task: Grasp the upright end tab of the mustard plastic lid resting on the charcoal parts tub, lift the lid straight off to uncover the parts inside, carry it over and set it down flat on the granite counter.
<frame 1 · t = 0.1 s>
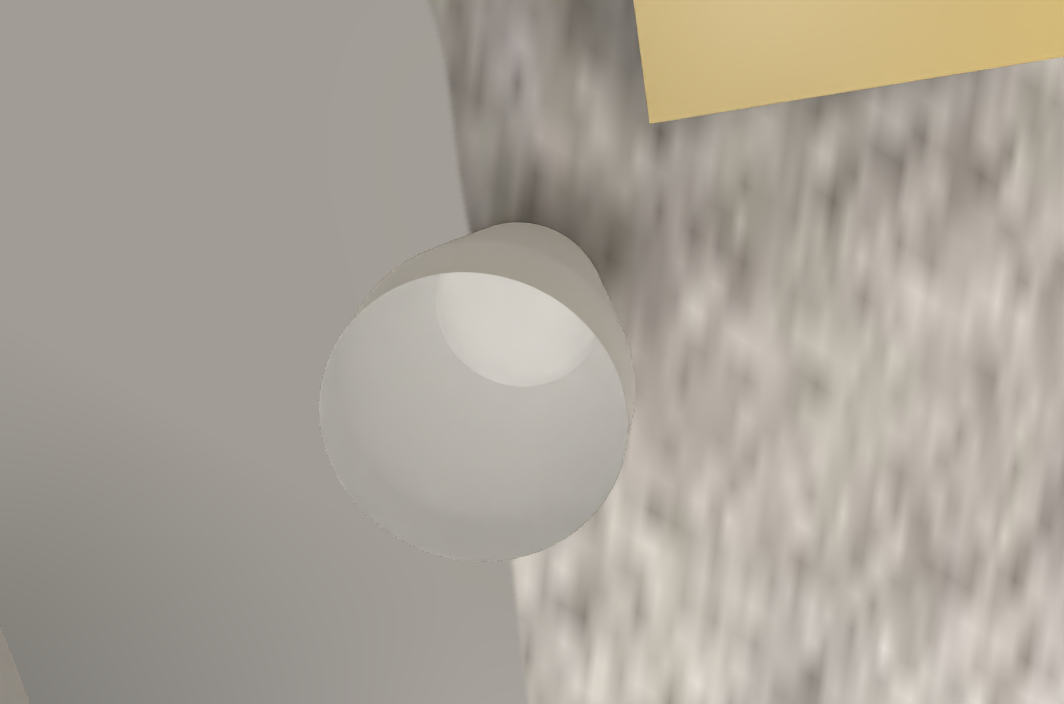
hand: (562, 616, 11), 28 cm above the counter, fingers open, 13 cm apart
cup: (520, 303, 39), on the counter
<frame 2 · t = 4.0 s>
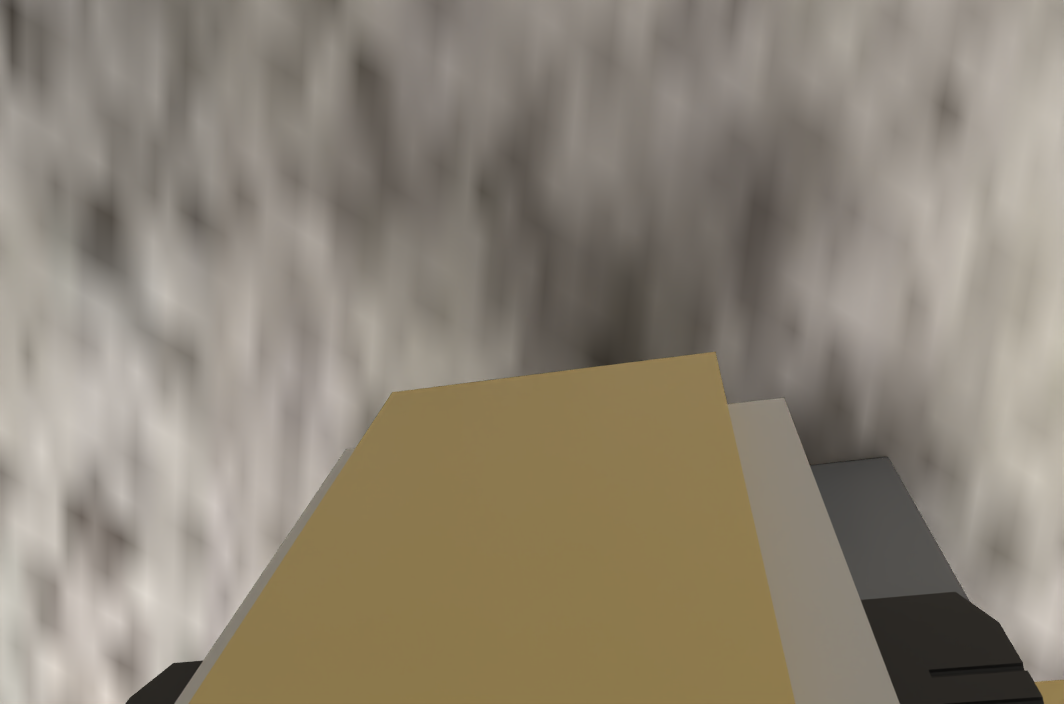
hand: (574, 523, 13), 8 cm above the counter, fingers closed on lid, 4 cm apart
lid: (575, 518, 13), point 8 cm above the counter, touching gripper, tub
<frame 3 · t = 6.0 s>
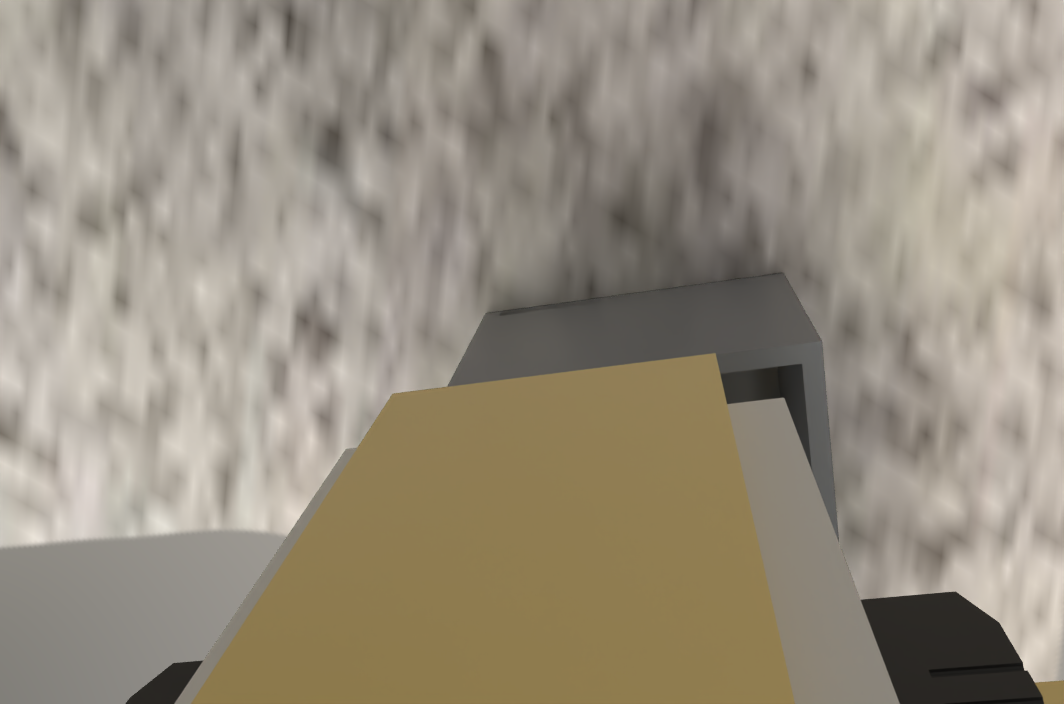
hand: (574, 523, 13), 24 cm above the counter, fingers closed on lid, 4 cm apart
lid: (575, 519, 13), point 24 cm above the counter, touching gripper
tub: (657, 477, 39), on the counter
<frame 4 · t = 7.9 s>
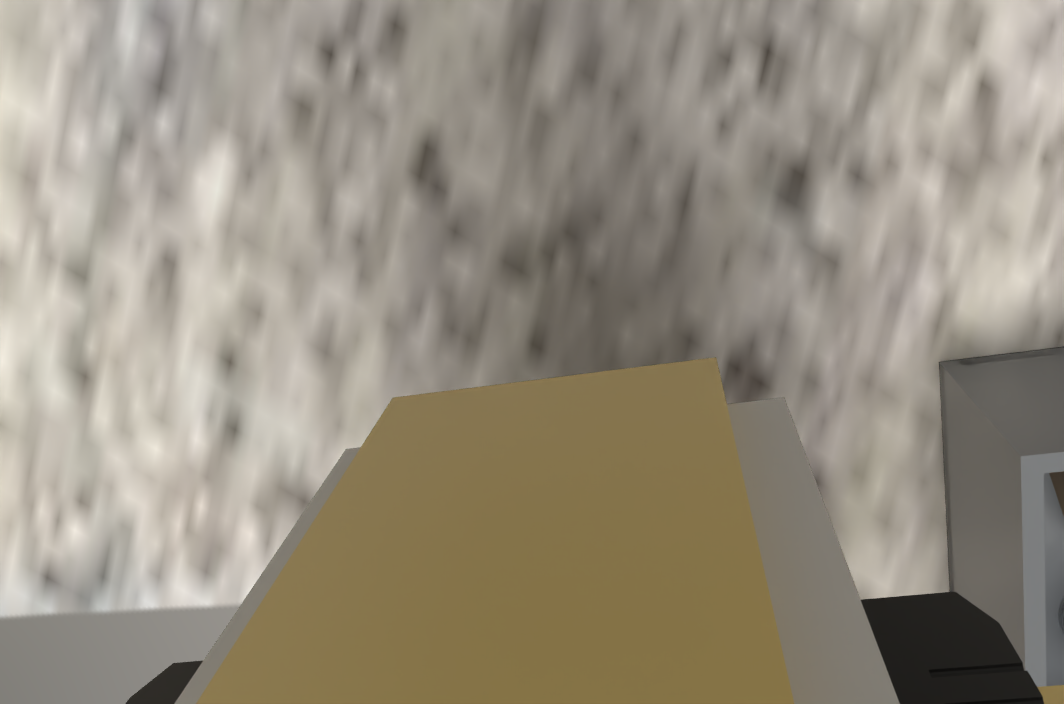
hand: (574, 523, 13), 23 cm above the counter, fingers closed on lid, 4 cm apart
lid: (575, 523, 13), point 23 cm above the counter, touching gripper
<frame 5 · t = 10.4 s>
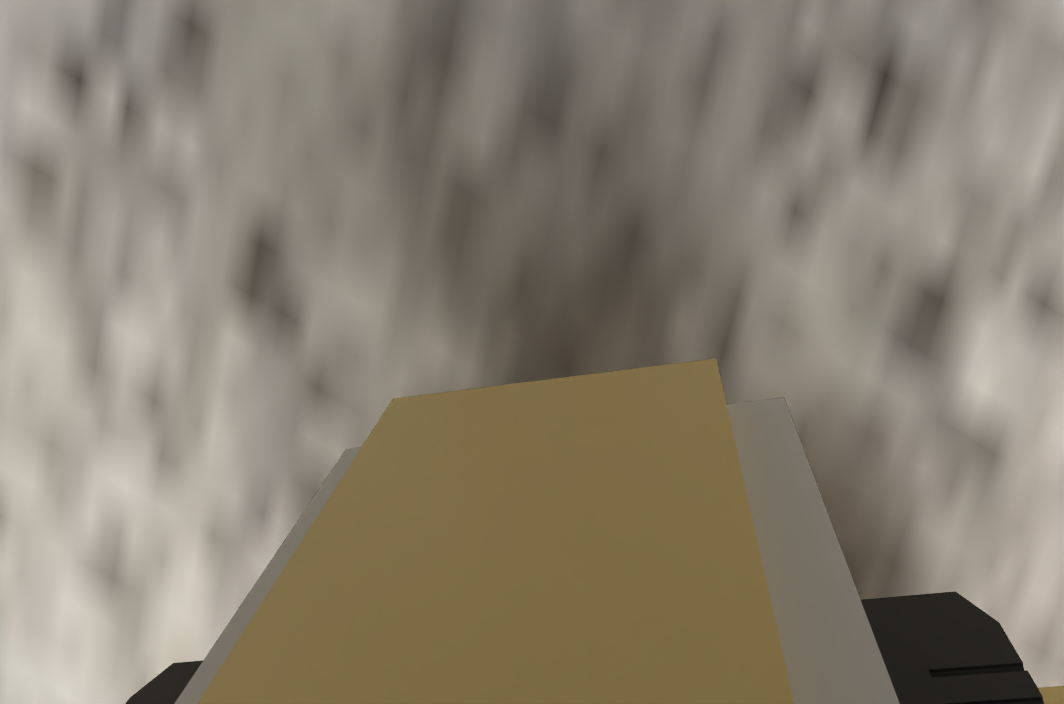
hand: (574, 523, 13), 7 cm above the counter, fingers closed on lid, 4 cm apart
lid: (575, 524, 13), point 7 cm above the counter, touching gripper
when the fingers open (2 cm above the counter, at t = 12.3 s): lid drops 2 cm, on the counter.
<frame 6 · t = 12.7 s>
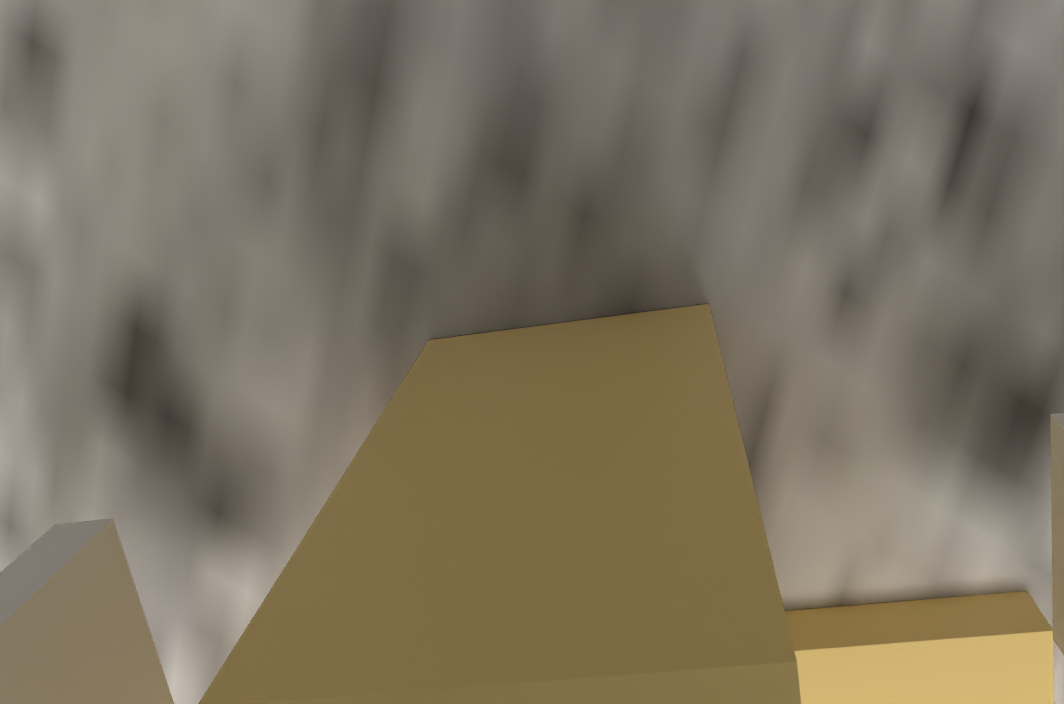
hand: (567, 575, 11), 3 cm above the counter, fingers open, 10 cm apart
lid: (586, 451, 15), on the counter
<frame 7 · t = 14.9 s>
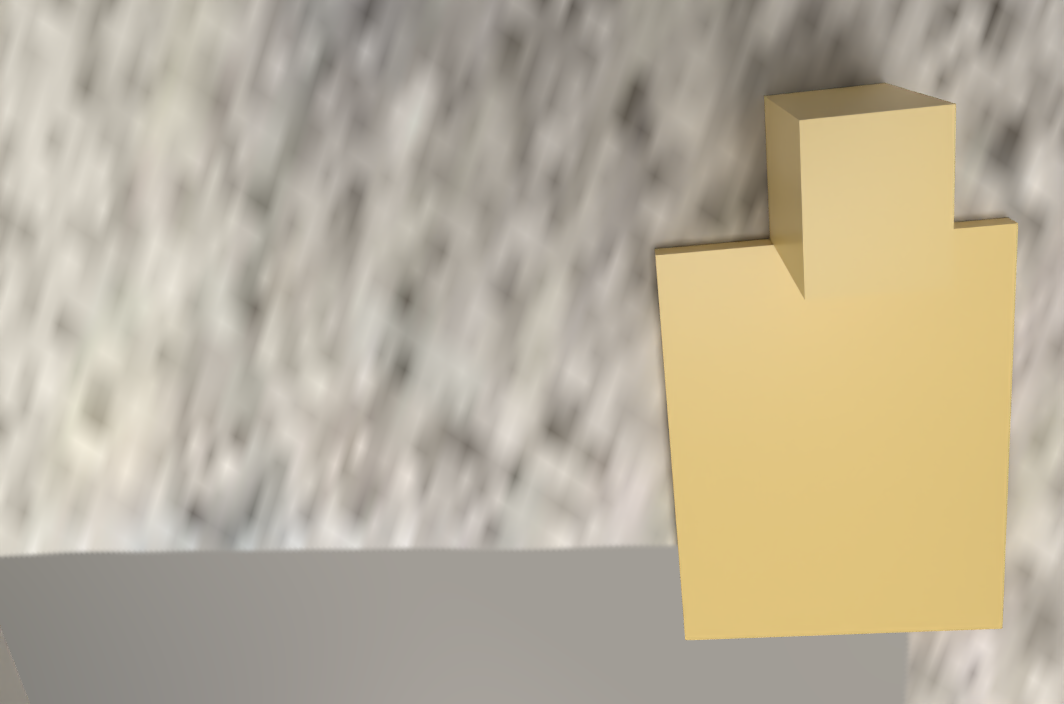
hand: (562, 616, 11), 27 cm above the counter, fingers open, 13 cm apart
lid: (825, 148, 34), on the counter
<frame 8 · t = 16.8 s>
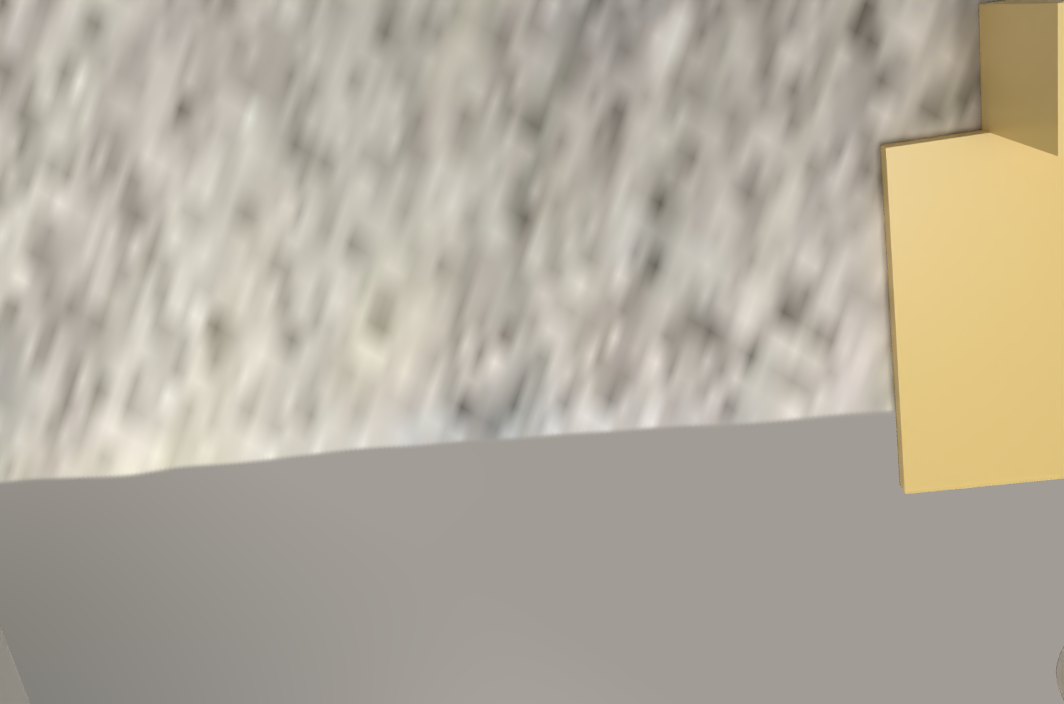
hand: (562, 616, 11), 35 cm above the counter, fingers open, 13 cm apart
lid: (1031, 47, 40), on the counter
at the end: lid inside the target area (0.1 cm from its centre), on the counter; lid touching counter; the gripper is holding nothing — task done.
